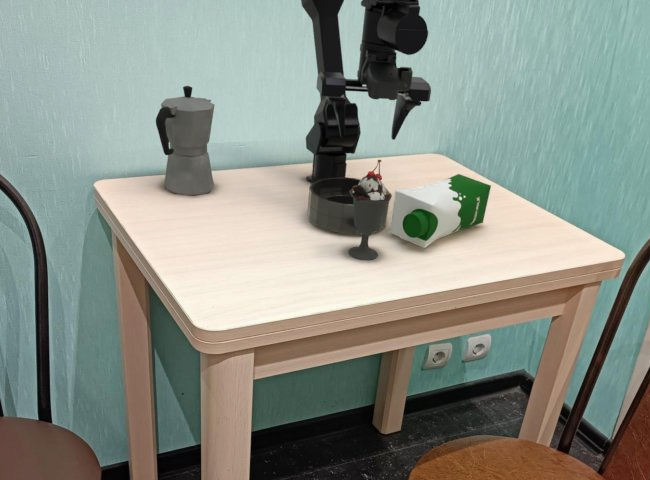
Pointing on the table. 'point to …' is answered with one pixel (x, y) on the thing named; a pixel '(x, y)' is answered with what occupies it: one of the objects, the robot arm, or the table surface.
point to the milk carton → (438, 209)
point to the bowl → (336, 205)
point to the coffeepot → (186, 143)
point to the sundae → (368, 211)
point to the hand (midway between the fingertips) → (367, 138)
